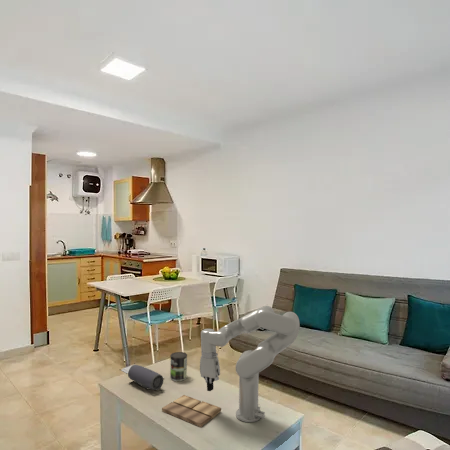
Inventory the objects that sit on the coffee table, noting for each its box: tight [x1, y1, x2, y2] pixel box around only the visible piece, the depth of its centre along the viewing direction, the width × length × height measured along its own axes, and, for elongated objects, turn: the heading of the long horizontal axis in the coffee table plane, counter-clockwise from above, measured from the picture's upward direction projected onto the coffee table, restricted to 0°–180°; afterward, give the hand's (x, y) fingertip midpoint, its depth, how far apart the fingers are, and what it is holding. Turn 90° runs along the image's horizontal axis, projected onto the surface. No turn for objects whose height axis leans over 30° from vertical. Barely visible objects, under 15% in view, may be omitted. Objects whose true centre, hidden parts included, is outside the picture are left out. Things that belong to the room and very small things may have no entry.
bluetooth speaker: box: [127, 364, 164, 391], centre depth 205 cm, size 23×9×10 cm, turn 51°
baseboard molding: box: [118, 362, 165, 381], centre depth 220 cm, size 31×3×12 cm
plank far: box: [173, 394, 202, 410], centre depth 184 cm, size 12×8×2 cm
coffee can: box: [169, 351, 188, 382], centre depth 217 cm, size 10×10×14 cm
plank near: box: [192, 400, 222, 420], centre depth 177 cm, size 12×8×2 cm
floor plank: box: [161, 401, 212, 428], centre depth 173 cm, size 25×8×2 cm, turn 56°
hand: (210, 390), depth 179 cm, fingers closed
